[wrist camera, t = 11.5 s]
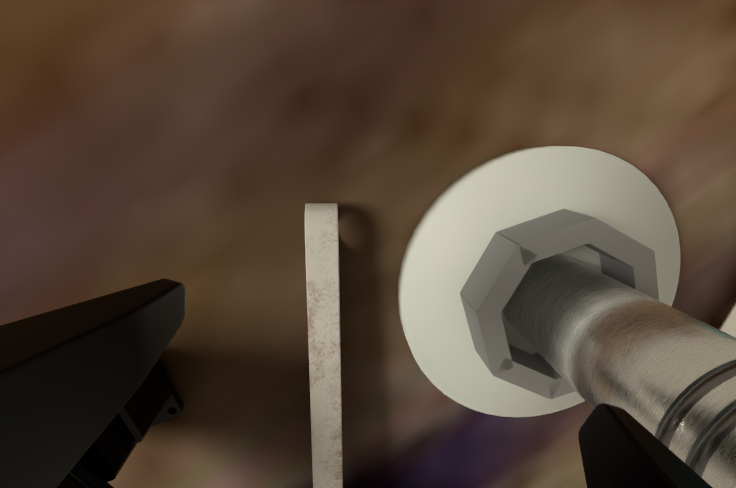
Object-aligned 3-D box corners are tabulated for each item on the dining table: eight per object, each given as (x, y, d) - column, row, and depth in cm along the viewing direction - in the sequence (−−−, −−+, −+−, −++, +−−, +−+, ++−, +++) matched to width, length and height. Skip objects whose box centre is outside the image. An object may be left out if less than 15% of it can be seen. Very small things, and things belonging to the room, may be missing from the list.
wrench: (337, 200, 23) (344, 596, 28) (308, 200, 23) (320, 599, 28) (341, 207, 16) (350, 756, 20) (297, 207, 15) (316, 762, 20)
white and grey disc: (437, 433, 25) (456, 485, 22) (360, 202, 21) (367, 216, 17) (668, 353, 26) (728, 391, 22) (646, 105, 21) (718, 97, 17)
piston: (485, 323, 22) (693, 568, 9) (523, 239, 21) (822, 391, 8) (562, 345, 23) (845, 594, 10) (603, 266, 22) (979, 438, 9)
